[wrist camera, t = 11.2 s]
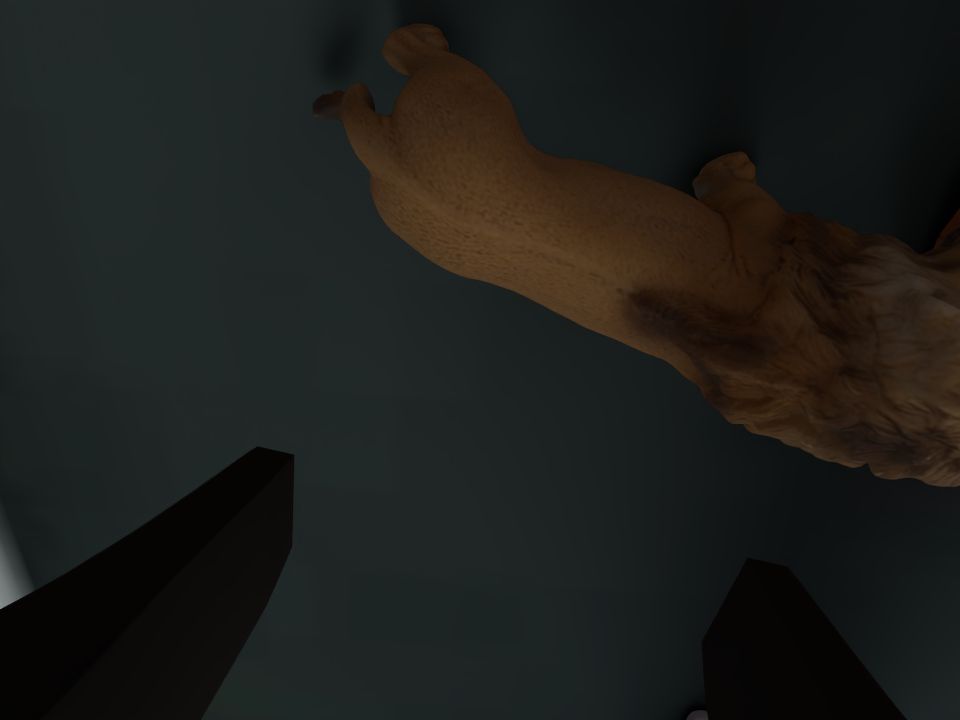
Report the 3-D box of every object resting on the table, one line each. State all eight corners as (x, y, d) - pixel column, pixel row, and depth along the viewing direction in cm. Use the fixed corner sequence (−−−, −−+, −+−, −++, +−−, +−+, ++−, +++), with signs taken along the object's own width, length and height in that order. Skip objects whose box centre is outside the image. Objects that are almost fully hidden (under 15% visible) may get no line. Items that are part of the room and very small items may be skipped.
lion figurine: (937, 141, 15) (1338, 291, 7) (828, 337, 17) (1029, 604, 10) (330, -7, 15) (59, -23, 7) (313, 208, 18) (104, 367, 10)
